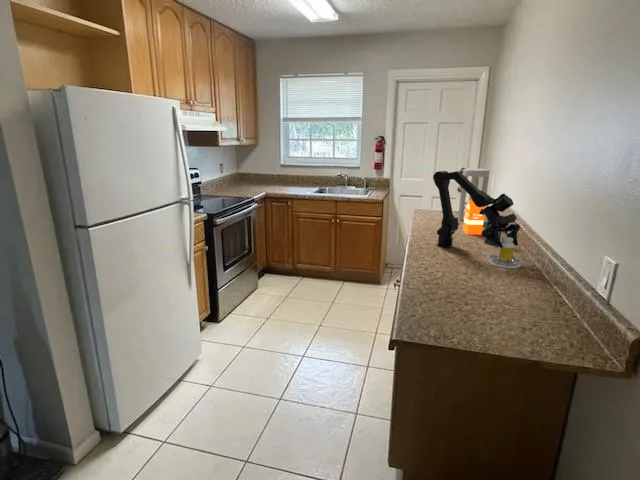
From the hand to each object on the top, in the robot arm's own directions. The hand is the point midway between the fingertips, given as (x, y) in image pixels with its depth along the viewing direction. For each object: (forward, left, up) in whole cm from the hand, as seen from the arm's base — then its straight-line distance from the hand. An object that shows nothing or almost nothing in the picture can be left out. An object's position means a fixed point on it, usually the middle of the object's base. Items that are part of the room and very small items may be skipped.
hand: (509, 246), depth 176 cm
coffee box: (-12, +34, -9) cm, 37 cm away
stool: (-34, +84, -9) cm, 91 cm away
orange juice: (-26, +52, -9) cm, 59 cm away
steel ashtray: (-1, +1, -9) cm, 9 cm away
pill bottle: (-1, +1, -8) cm, 8 cm away
